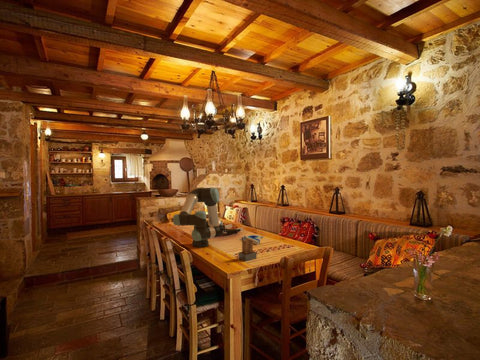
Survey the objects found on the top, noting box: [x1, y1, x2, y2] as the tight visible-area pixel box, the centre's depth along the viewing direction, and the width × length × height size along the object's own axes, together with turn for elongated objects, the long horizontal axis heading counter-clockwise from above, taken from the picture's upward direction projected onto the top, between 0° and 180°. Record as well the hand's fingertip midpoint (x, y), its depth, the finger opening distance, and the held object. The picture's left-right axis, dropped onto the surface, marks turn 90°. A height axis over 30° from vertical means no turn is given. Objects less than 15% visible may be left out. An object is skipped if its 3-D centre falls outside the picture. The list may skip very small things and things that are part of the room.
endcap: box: [238, 250, 258, 262], centre depth 204 cm, size 11×8×5 cm
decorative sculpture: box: [239, 234, 265, 246], centre depth 259 cm, size 27×4×30 cm
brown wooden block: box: [241, 238, 254, 254], centre depth 204 cm, size 7×4×14 cm, turn 127°
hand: (237, 227), depth 197 cm, fingers open, 13 cm apart
